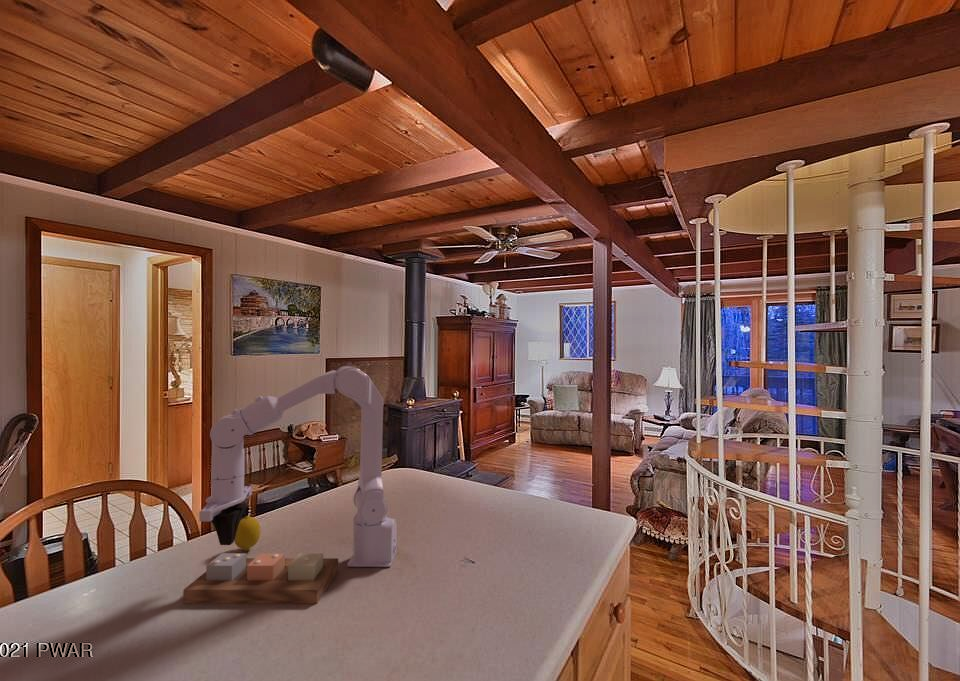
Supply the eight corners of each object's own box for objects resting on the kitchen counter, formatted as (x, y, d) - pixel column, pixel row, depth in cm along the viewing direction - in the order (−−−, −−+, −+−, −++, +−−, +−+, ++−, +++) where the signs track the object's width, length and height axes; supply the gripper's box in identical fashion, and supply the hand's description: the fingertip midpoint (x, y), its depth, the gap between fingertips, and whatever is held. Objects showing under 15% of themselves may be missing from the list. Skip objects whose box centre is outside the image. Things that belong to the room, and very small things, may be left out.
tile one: (323, 570, 88) (323, 552, 88) (313, 583, 83) (313, 564, 83) (298, 570, 88) (299, 552, 88) (288, 583, 83) (288, 564, 83)
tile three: (245, 569, 88) (246, 552, 88) (231, 583, 83) (232, 564, 83) (221, 569, 88) (221, 552, 88) (206, 583, 83) (206, 564, 83)
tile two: (284, 570, 88) (284, 552, 88) (272, 583, 83) (273, 564, 83) (260, 570, 88) (260, 552, 88) (247, 583, 83) (247, 564, 83)
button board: (338, 570, 91) (338, 558, 92) (317, 603, 79) (317, 589, 80) (222, 569, 91) (222, 558, 91) (183, 603, 79) (183, 589, 79)
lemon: (248, 557, 97) (249, 521, 97) (227, 554, 98) (228, 519, 98) (265, 546, 103) (266, 512, 103) (245, 543, 104) (246, 510, 104)
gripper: (229, 465, 93) (228, 528, 93) (183, 487, 79) (181, 561, 78) (261, 465, 93) (260, 528, 93) (221, 487, 79) (220, 561, 78)
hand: (227, 543), depth 86 cm, fingers closed
